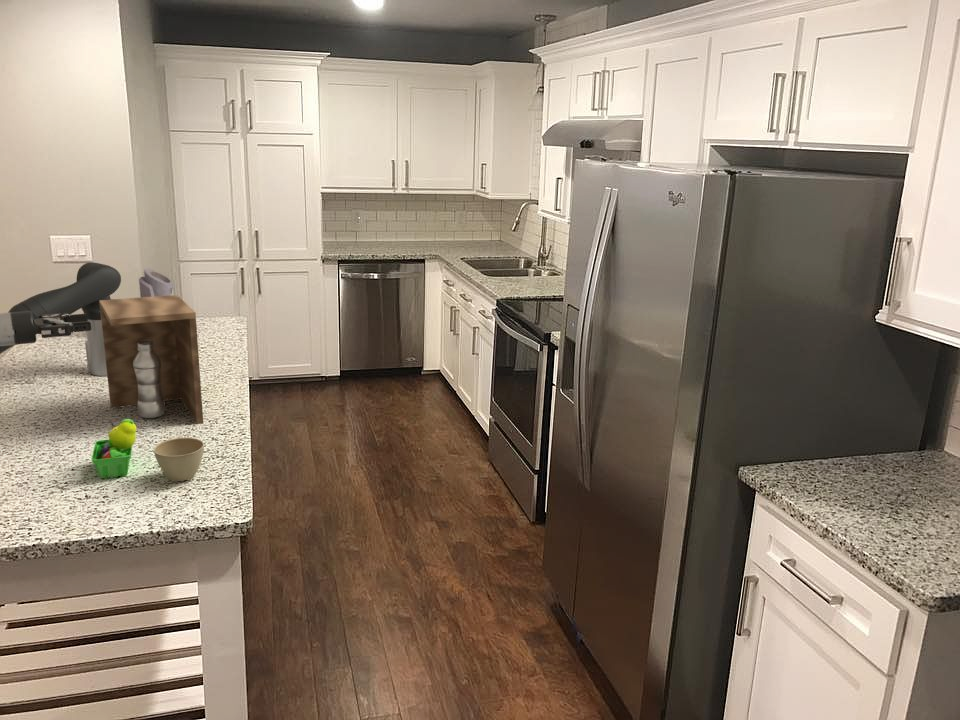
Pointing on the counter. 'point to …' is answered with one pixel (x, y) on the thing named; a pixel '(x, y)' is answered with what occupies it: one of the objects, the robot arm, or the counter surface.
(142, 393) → the plastic bottle
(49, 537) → the counter surface
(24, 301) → the robot arm
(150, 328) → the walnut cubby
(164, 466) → the flower pot
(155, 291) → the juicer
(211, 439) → the counter surface
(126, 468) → the fruit basket
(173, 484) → the counter surface
